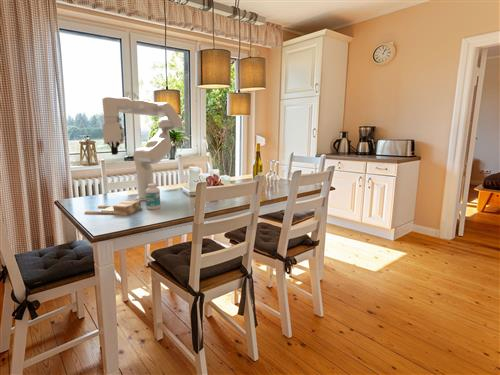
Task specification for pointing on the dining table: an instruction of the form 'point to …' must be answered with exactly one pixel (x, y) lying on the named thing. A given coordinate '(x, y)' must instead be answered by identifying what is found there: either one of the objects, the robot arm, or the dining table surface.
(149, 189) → the pill bottle
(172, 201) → the dining table surface
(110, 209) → the cover
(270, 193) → the dining table surface
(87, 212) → the overhang cubby
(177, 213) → the dining table surface
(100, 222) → the dining table surface
